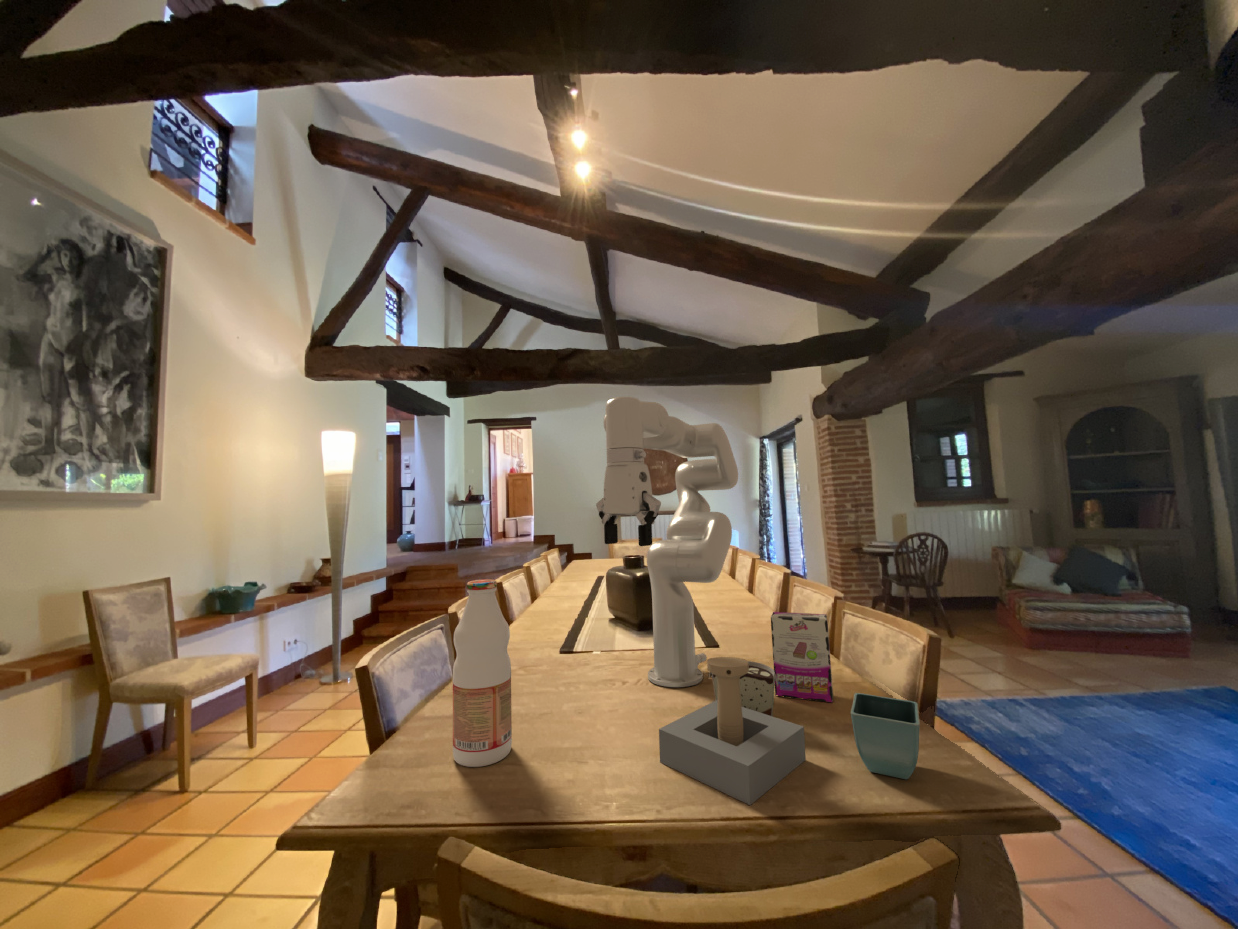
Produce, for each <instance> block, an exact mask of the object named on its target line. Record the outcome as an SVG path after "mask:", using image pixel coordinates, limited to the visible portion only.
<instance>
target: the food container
mask: <svg viewBox="0 0 1238 929" xmlns="http://www.w3.org/2000/svg"><path fill="white" fill-rule="evenodd" d="M747 661H748V663H749V671H748V673H746V674H745V675H743V676H741V677H740V680H739V686H740V697H741V707H744V708H748V709H751V710H754V711H757V712H760V713H763V714H766V715H769V716H772V717H774V713H773V712H774V699H775V698H774V696H775V681H776V684H777V686H778V681H777V677H776V674H775V672H774V668H772V667H771V666H768V665H767V664H764V663H761V662H758V661H757V662H755V661H751V660H747ZM708 678H709V679H710V678H711V679H712V686H713V693H714V701H716V700H718V680H717V676H716V675H714V674H712V673H711V672H709V674H708Z"/></svg>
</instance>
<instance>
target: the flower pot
mask: <svg viewBox="0 0 1238 929" xmlns="http://www.w3.org/2000/svg"><path fill="white" fill-rule="evenodd" d="M850 717H851V723H852V730H853V734H854V736H853V737H854V742H855V746H856V749H857V751H858V754H859V756H860V759H861V761H862V762H863V764H864V766H865V767H866V769H867V770H868V771H869V772H871V773H874V774H879V775H884V776H888V777H893V778H897V779H902V780H908V779H909V778H910V777H911V776H912V774H913V773H914V771H915V769H916V766H917V764H918V759H919V751H920V750H919V747H920V746H919V745H920V731H921V730H920V728H921V726H920V725H921V723H920V714H919V703H918V702H917V701H912V700H908V699H901V698H892V697H886V696H879V695H874V694H870V693H868V694H867V693H862V692H854V694H853V699H852V704H851V709H850Z"/></svg>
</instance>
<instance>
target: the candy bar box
mask: <svg viewBox="0 0 1238 929" xmlns="http://www.w3.org/2000/svg"><path fill="white" fill-rule="evenodd" d="M770 626H771V629H770V630H771V644H772V662H773V670H774V672H775V674H776V677H777V681H778V686H777V684H776V681H775V683H774V696H776V695H778V696H784V697H783V698H786V697H791V698H790V699H795V698H803V699H802V700H804V699H811V700H810V701H814V700H817V701H816V702H824V701H826V702H825V703H833V702H834V696H833V694H834V693H833V676H832V664H831V662H832V661H831V650H830V636H829V635H830V634H829V623H828V615H827V614H825V613H809V612H807V613H805V612H787V611H785V612H784V611H782V612H781V611H773V612H772V614H771V616H770Z"/></svg>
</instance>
